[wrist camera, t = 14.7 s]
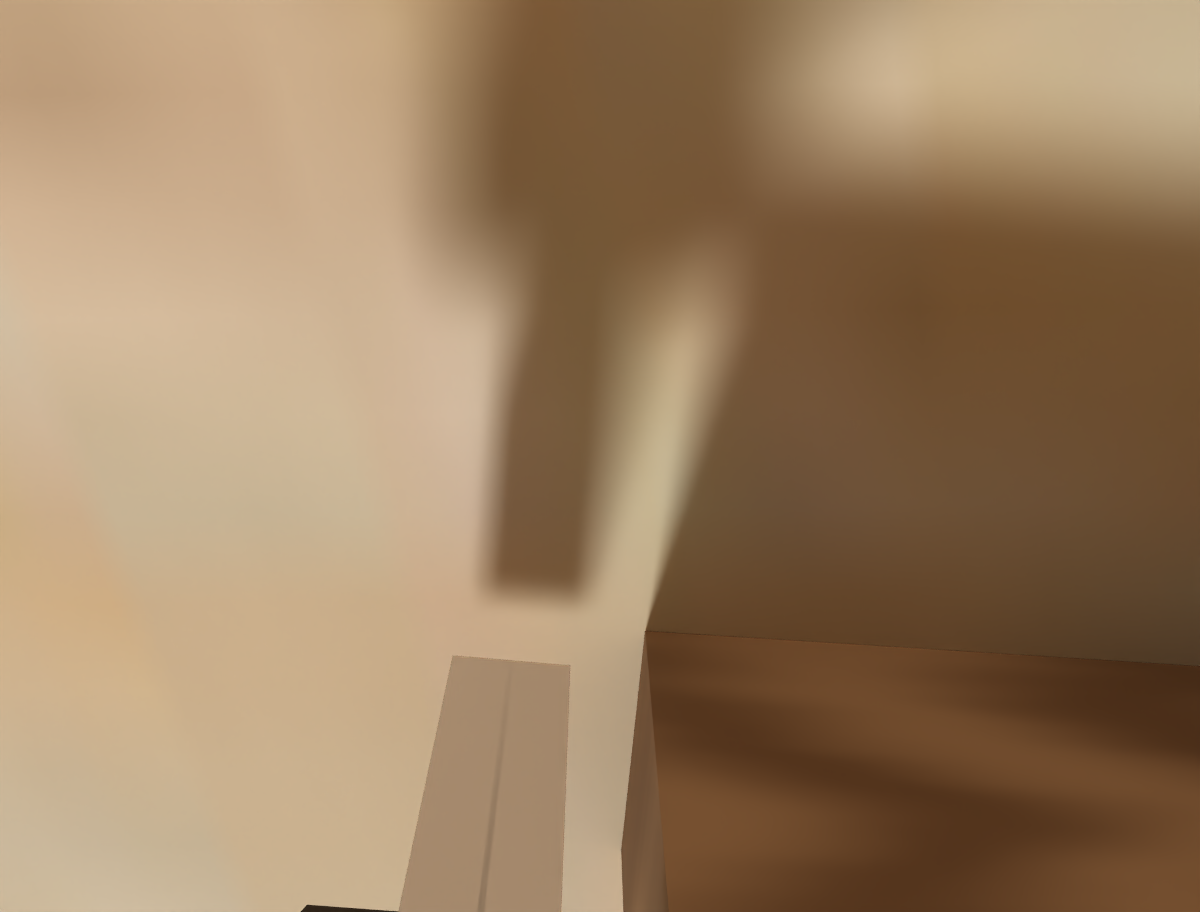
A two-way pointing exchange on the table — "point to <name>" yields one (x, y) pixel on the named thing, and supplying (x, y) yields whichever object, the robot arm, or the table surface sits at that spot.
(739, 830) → the slat
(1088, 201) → the table surface
